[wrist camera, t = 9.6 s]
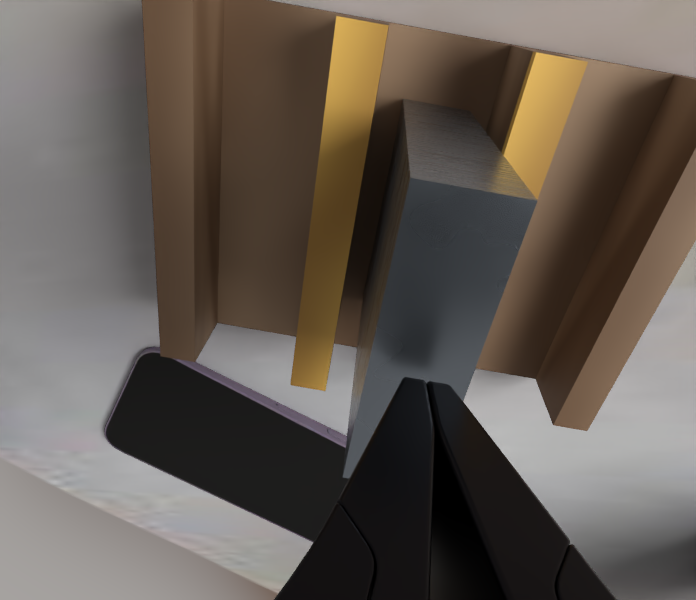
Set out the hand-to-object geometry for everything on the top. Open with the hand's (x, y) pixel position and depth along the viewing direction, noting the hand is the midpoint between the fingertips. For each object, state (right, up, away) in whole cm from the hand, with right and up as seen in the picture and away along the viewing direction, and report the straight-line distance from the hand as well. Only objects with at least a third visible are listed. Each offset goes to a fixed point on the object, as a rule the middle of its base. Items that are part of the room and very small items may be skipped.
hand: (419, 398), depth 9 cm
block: (+1, +5, +7) cm, 9 cm away
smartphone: (-5, -6, +16) cm, 18 cm away
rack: (+1, +5, +8) cm, 10 cm away
